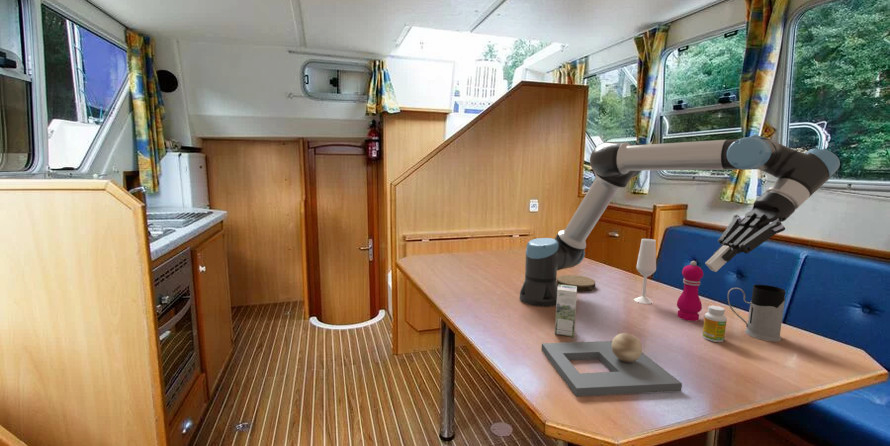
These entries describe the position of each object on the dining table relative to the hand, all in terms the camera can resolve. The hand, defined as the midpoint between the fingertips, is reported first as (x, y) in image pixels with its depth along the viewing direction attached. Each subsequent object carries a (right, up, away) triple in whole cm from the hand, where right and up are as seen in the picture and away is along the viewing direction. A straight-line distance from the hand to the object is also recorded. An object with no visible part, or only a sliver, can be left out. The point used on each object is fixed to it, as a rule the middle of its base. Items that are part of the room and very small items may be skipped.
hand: (710, 267), depth 96 cm
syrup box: (-30, -23, +22) cm, 44 cm away
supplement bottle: (+14, -24, +19) cm, 34 cm away
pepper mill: (+17, -22, +36) cm, 45 cm away
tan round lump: (-21, -20, +1) cm, 29 cm away
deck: (-26, -26, +1) cm, 37 cm away
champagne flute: (+10, -19, +52) cm, 57 cm away
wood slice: (-10, -17, +70) cm, 73 cm away
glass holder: (+29, -23, +24) cm, 44 cm away
